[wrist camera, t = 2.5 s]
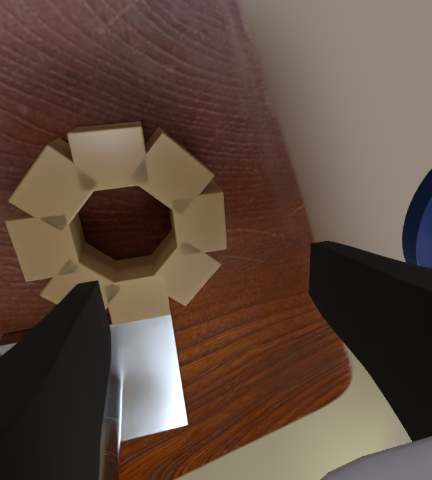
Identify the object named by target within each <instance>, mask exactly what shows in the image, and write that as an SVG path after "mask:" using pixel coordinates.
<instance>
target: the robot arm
mask: <svg viewBox="0 0 432 480" xmlns="http://www.w3.org/2000/svg"><path fill="white" fill-rule="evenodd" d="M309 295H310V296H311V298H312V300H313V302H314V303H315V305H316V307H317V308H318V310H319V312H320V313H321V315H322V316H323V318H324V319H325V320H326V321H327V323H328V324H329V325H330V326H331V328H332V329H333V330H334V331H335V332H336V334H337V335H338V336H339V337H340V338H341V340H342V341H343V342H344V343H345V344H346V346H347V347H348V348H349V349H350V351H351V352H352V353H353V354H354V355H355V357H356V358H357V359H358V360H359V361H360V363H361V364H362V365H363V366H364V367H365V369H366V370H367V372H368V373H369V374H370V376H371V377H372V379H373V380H374V382H375V383H376V384H377V386H378V388H379V389H380V391H381V392H382V394H383V395H384V397H385V398H386V400H387V401H388V403H389V404H390V406H391V407H392V409H393V411H394V412H395V414H396V415H397V417H398V419H399V420H400V422H401V424H402V425H403V427H404V428H405V430H406V431H407V433H408V435H409V437H410V438H411V440H412V442H411V443H407V444H404V445H400V446H397V447H393V448H390V449H387V450H383V451H380V452H376V453H373V454H370V455H366V456H362V457H360V458H358V459H356V460H354V461H352V462H350V463H347V464H346V465H343V466H341V467H339V468H337V469H335V470H333V471H331V472H328V473H327V474H326V475H325V476H324V477H323V478H322V479H321V480H432V269H431V268H426V267H422V266H417V265H413V264H410V263H406V262H401V261H398V260H394V259H390V258H387V257H384V256H380V255H377V254H374V253H370V252H367V251H364V250H361V249H357V248H354V247H351V246H347V245H343V244H340V243H336V242H331V241H324V242H318V243H312V244H311V254H310V278H309ZM110 366H111V330H110V326H109V322H108V318H107V314H106V310H105V306H104V302H103V298H102V294H101V290H100V286H99V282H98V280H96V281H90V282H84V283H78V284H77V285H76V286H75V287H74V288H73V289H72V290H71V291H70V292H69V293H68V294H67V295H66V296H65V297H64V298H63V299H62V300H61V301H60V302H59V303H58V304H57V305H56V306H55V307H54V309H53V310H52V311H51V312H50V313H49V314H48V315H47V316H46V317H45V318H44V319H43V320H42V321H41V322H39V323H38V324H37V325H36V326H35V327H34V328H33V329H32V330H31V331H30V332H29V333H28V334H26V335H25V336H24V337H23V338H22V339H21V340H20V341H19V342H18V343H16V344H15V345H14V346H13V347H12V348H10V349H9V350H8V351H7V352H5V353H4V354H3V355H2V356H0V480H99V471H100V443H101V432H102V423H103V416H104V409H105V402H106V395H107V388H108V381H109V373H110Z"/></svg>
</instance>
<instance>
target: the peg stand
mask: <svg viewBox="0 0 432 480" xmlns="http://www.w3.org/2000/svg"><path fill="white" fill-rule="evenodd" d="M170 312H171V308H170ZM107 318H108V322H109V326H110V330H111V366H110V373H109V381H108V388H107V395H106V402H105V409H104V416H103V423H102V432H101V443H100V471H99V480H119V473H120V444H121V442H122V441H126V440H130V439H134V438H138V437H142V436H146V435H150V434H154V433H158V432H162V431H166V430H170V429H174V428H178V427H182V426H186V425H188V419H187V412H186V405H185V399H184V392H183V386H182V379H181V373H180V366H179V360H178V353H177V347H176V340H175V334H174V327H173V321H172V314H170V315H166V316H161V317H155V318H150V319H145V320H140V321H135V322H129V323H124V324H119V325H114V326H113V325H112V321H111V317H110V315H109V316H107ZM30 331H31V330H29V331H23V332H18V333H12V334H7V335H3V337H2V338H1V340H0V355H1V356H2V355H3V354H4V353H5V352H7V351H8V350H9V349H10V348H12V347H13V346H14V345H15V344H16V343H18V342H19V341H20V340H21V339H22V338H23V337H24V336H25V335H26V334H28V333H29V332H30Z"/></svg>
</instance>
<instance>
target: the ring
mask: <svg viewBox="0 0 432 480" xmlns="http://www.w3.org/2000/svg"><path fill="white" fill-rule="evenodd" d="M67 139H68V143H69V144H68V143H66V142H65V141H64V140H62V139H61V138H57V139H55V140H54V141H52V142H50V143H49V144H47V145H46V146H45V147H44V149H43V150H42V152H41V153H40V155H39V156H38V157H37V159H36V160H35V162H34V163H33V165H32V166H31V168H30V169H29V170H28V172H27V173H26V175H25V176H24V178H23V179H22V181H21V182H20V183H19V185H18V186H17V188H16V189H15V191H14V192H13V194H12V195H11V196H10V198H9V199H8V202H9V203H11V204H13V205H15V206H16V207H18V209H17V210H16V211H15V212H14V213H13V214H12V215H11V216H10V217H9V218H8V219H7V220H6V221H5V223H6V226H7V229H8V232H9V235H10V238H11V240H12V243H13V246H14V249H15V252H16V255H17V258H18V261H19V264H20V266H21V269H22V272H23V275H24V278H25V281H26V282H28V281H34V280H40V279H46V278H47V279H46V281H45V283H44V285H43V287H42V290H41V292H40V296H41V297H43V298H45V299H47V300H49V301H51V302H53V303H55V304H58V303H59V302H60V301H61V300H62V299H63V298H64V297H65V296H66V295H67V294H68V293H69V292H70V291H71V290H72V289H73V288H74V287H75V286H76V285H77V284H78V283H84V282H90V281H96V280H98V282H99V286H100V290H101V294H102V298H103V302H104V306H105V310H106V309H107V307H108V309H109V313H110V317H111V321H112V325H113V326H114V325H119V324H124V323H129V322H135V321H140V320H145V319H150V318H155V317H161V316H166V315H170V314H171V312H170V305H169V299H168V296H169V297H170V298H172V299H174V300H176V301H177V302H179V303H181V304H182V305H184V306H186V305H187V304H188V303H189V301H190V300H191V299H192V298H193V297H194V296H195V294H196V293H197V292H198V291H199V290H200V289H201V288H202V286H203V285H204V284H205V283H206V282H207V281H208V279H209V278H210V277H211V276H212V275H213V274H214V272H215V271H216V270H217V269H218V268H219V267H220V266H221V263H220V261H219V259H218V257H217V255H216V253H215V251H217V250H223V249H227V241H226V226H225V211H224V196H223V191H222V190H221V189H220V188H219V187H218V186H217V185H216V184H215V182H214V181H213V180H212V178H213V177H214V174H213V173H212V172H211V171H210V170H209V169H208V168H207V167H206V166H205V165H204V164H203V163H202V162H201V161H199V160H198V159H197V158H196V157H195V156H193V155H192V154H191V153H190V152H188V151H187V150H186V149H185V148H184V147H182V146H181V145H180V144H179V143H178V142H176V141H175V140H174V139H173V138H172V137H170V136H169V135H168V134H167V133H165V132H164V131H163V130H162V129H161V128H159V127H158V128H157V129H156V131H155V132H154V133H153V135H152V136H151V137H150V139H149V140H148V141H147V143H146V144H145V143H144V136H143V130H142V125H141V122H140V121H137V122H126V123H116V124H105V125H95V126H84V127H76V128H74V129H73V130H71V131H70V132H68V133H67ZM130 186H139V187H141V188H142V189H144V190H145V191H146V192H148V193H149V194H151V195H152V196H153V197H155V198H156V199H158V200H159V201H160V202H162V203H163V204H164V205H166V206H167V207H169V212H170V219H171V226H172V230H171V231H170V232H169V233H168V235H167V236H166V237H165V238H164V240H163V241H162V242H161V243H160V244H159V246H158V247H157V248H156V249H155V251H154V252H153V253H152V254H151V255H147V256H141V257H135V258H128V259H122V260H114V259H113V258H111V257H109V256H108V255H106V254H104V253H102V252H101V251H99V250H97V249H96V248H94V247H92V246H91V245H89V244H87V243H86V242H85V238H84V234H83V230H82V226H81V222H80V218H79V214H78V212H79V210H80V209H81V208H82V206H83V205H84V204H85V202H86V201H87V200H88V198H89V197H90V196H91V194H92V193H93V192H94V191H98V190H106V189H114V188H122V187H130Z"/></svg>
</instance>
